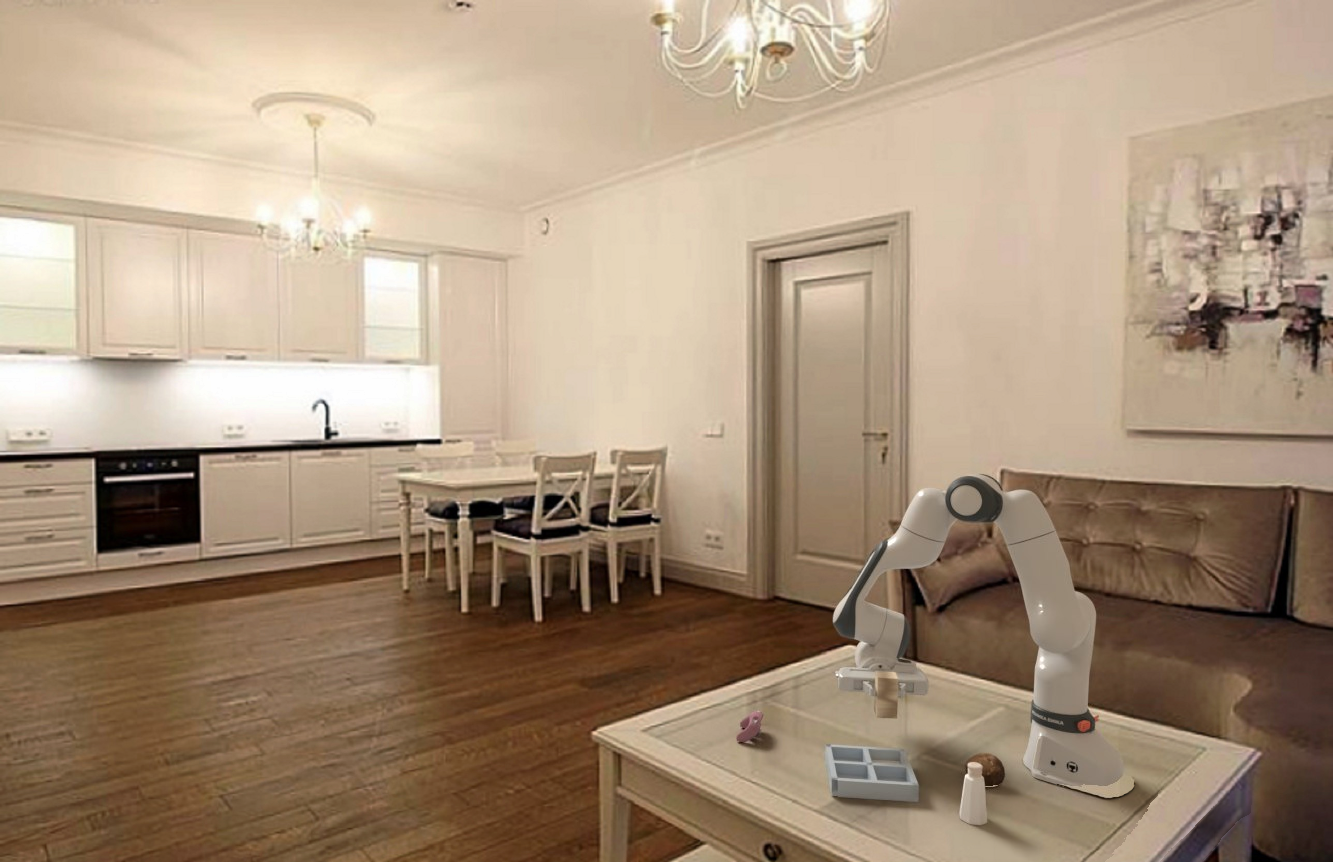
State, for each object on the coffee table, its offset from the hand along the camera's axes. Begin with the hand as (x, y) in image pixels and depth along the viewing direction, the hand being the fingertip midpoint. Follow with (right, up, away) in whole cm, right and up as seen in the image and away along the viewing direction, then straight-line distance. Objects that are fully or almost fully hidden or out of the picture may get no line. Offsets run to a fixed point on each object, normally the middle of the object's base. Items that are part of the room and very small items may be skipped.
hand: (886, 693), depth 190 cm
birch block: (0, -5, +1) cm, 5 cm away
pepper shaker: (+12, -19, -21) cm, 30 cm away
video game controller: (-29, -16, +17) cm, 37 cm away
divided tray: (-5, -17, -5) cm, 18 cm away
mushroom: (+20, -18, -5) cm, 27 cm away
